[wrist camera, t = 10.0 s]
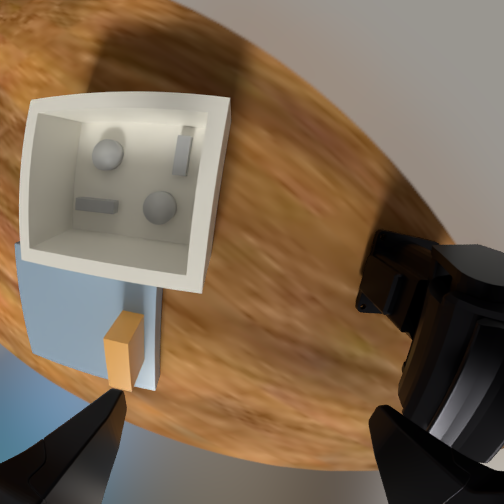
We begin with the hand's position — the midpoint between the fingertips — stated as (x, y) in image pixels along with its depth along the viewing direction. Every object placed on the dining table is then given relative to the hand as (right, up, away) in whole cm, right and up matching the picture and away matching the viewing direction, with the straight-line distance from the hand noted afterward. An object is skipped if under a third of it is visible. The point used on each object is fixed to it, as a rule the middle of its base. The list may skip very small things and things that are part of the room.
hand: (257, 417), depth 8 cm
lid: (-13, +1, +11) cm, 17 cm away
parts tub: (-8, +10, +9) cm, 16 cm away
